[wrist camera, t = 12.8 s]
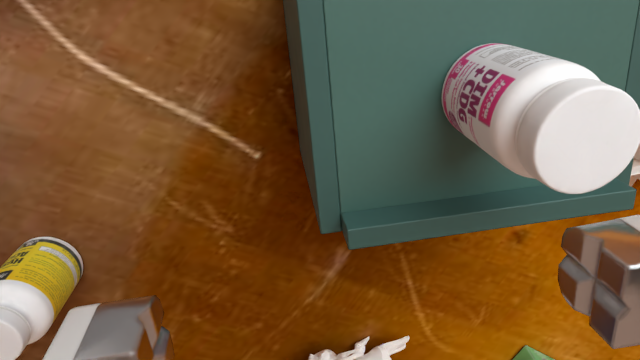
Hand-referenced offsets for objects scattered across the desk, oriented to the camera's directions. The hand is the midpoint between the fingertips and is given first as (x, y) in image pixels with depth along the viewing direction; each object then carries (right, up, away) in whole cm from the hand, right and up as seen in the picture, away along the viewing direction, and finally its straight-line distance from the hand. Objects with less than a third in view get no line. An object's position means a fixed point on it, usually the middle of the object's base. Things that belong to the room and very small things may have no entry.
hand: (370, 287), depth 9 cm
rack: (+6, +12, +27) cm, 30 cm away
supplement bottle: (-24, -5, +31) cm, 39 cm away
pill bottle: (+7, +7, +15) cm, 18 cm away
